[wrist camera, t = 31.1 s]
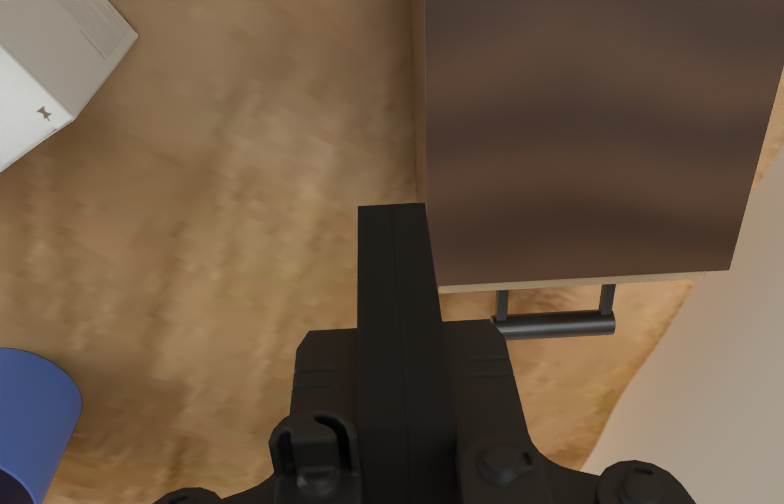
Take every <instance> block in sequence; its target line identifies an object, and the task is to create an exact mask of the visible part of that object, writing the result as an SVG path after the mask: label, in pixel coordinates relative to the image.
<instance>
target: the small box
mask: <svg viewBox="0 0 784 504" xmlns="http://www.w3.org/2000/svg"><path fill="white" fill-rule="evenodd" d="M137 38H138V34H137V33H136V32H135V31H134V30H133V29H132V27H131V26H130V25H129V24H128V23H127V22H126V20H125V19H124V18H123V17H122V16H121V15H120V14H119V12H118V11H117V10H116V9H115V8H114V7H113V6H112V4H111V3H110V2H109V1H108V0H0V173H1V172H2V171H3V170H5V169H6V168H7V167H8V166H10V165H11V164H12V163H14V162H15V161H17V160H18V159H19V158H21V157H22V156H23V155H25V154H26V153H27V152H29V151H30V150H31V149H33V148H34V147H36V146H37V145H38V144H40V143H41V142H42V141H44V140H45V139H47V138H48V137H50V136H51V135H53V134H54V133H56V132H57V131H59V130H60V129H62V128H63V127H65V126H66V125H68V124H69V123H71V122H73V121H74V120H75V119H76V118H77V116H78V115H79V114H80V112H81V111H82V110H83V108H84V107H85V106H86V105H87V103H88V102H89V101H90V99H91V98H92V97H93V95H94V94H95V93H96V92H97V90H98V89H99V88H100V87H101V86H102V84H103V83H104V82H105V80H106V79H107V78H108V77H109V75H110V74H111V73H112V72H113V70H114V69H115V68H116V66H117V65H118V64H119V63H120V61H121V60H122V59H123V57H124V56H125V55H126V53H127V52H128V51H129V49H130V48H131V47H132V45H133V44H134V43H135V41H136V40H137Z"/></svg>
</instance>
